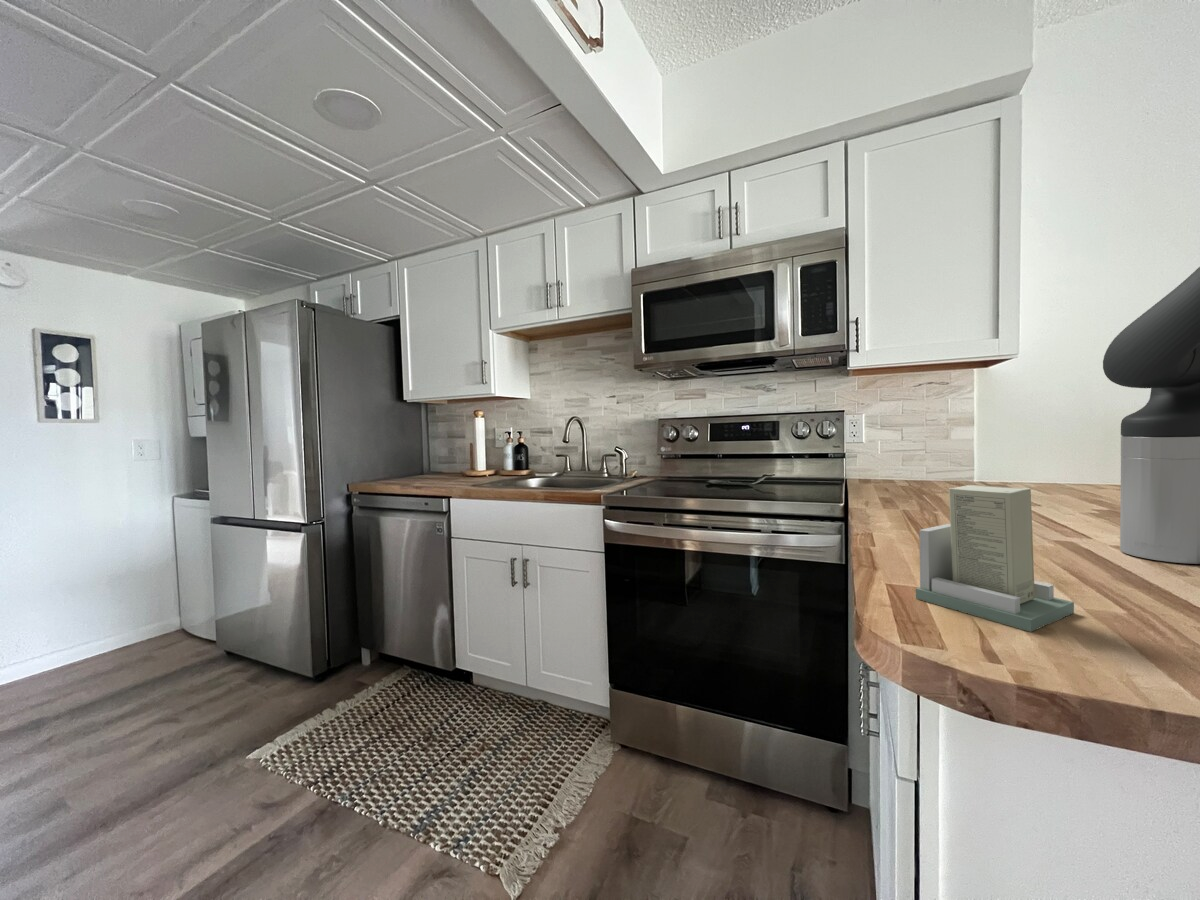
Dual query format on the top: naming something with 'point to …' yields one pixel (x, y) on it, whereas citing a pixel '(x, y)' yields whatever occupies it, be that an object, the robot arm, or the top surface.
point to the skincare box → (993, 539)
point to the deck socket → (980, 589)
